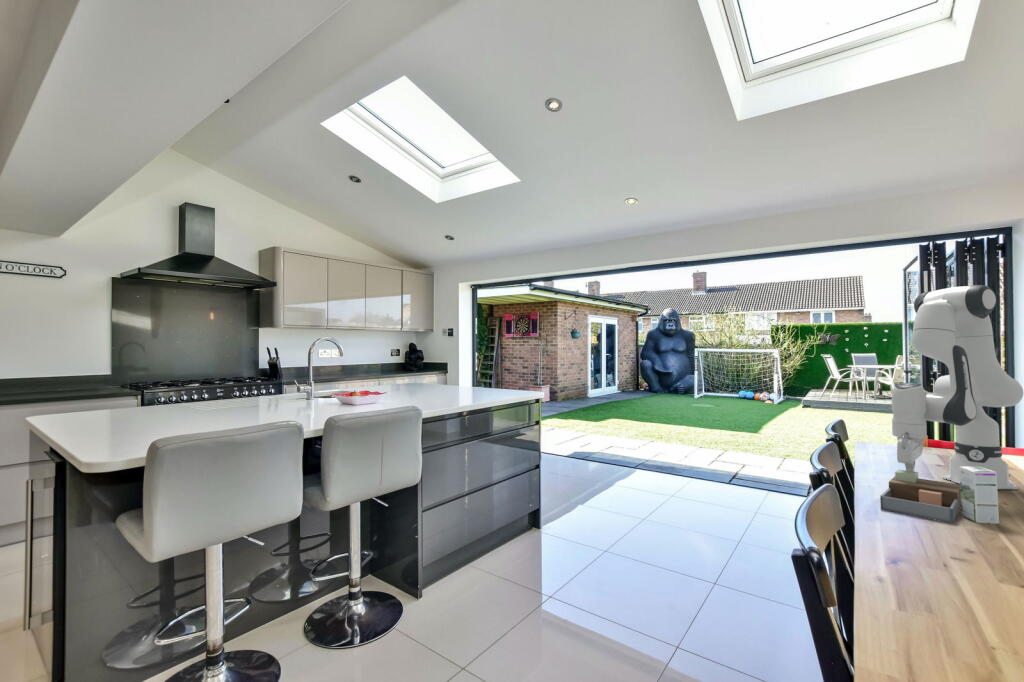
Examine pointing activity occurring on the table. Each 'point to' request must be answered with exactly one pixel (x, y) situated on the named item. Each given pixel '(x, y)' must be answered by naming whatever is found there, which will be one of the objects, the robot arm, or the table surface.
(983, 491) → the syrup box
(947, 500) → the brown rectangular block
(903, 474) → the sage-green tile
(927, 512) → the box
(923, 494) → the terracotta tile
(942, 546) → the table surface
